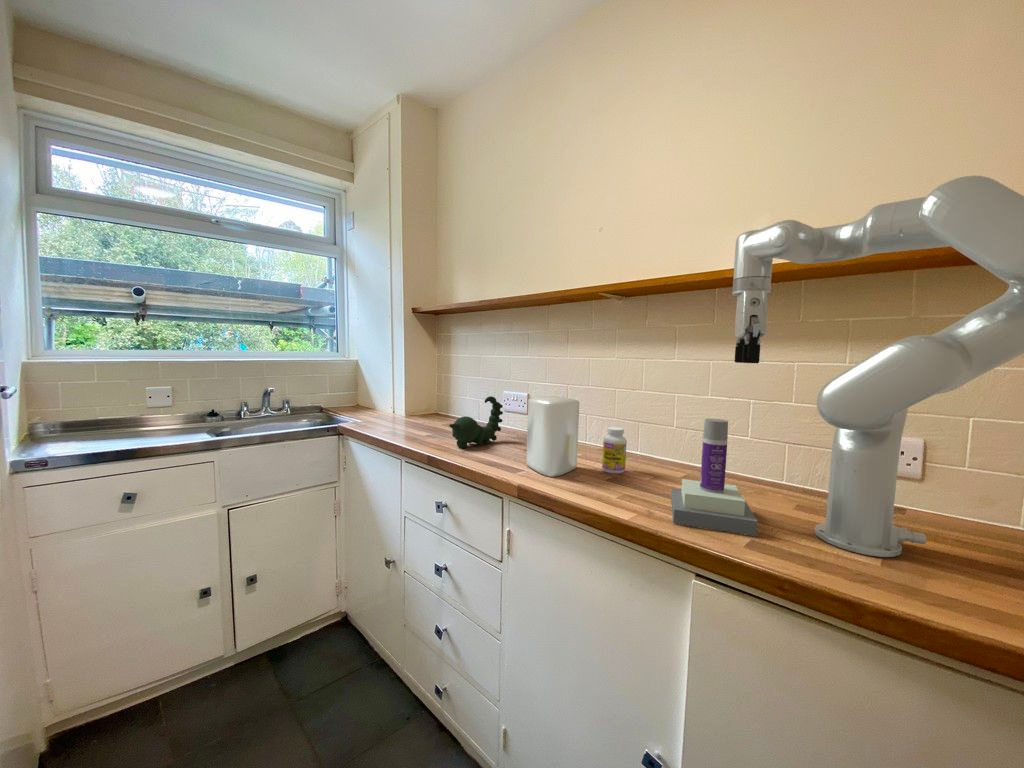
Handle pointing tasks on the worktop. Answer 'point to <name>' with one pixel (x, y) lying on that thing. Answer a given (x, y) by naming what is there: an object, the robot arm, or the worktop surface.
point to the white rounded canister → (552, 435)
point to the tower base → (712, 518)
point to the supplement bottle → (614, 451)
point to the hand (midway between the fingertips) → (746, 362)
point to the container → (714, 455)
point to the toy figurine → (477, 427)
